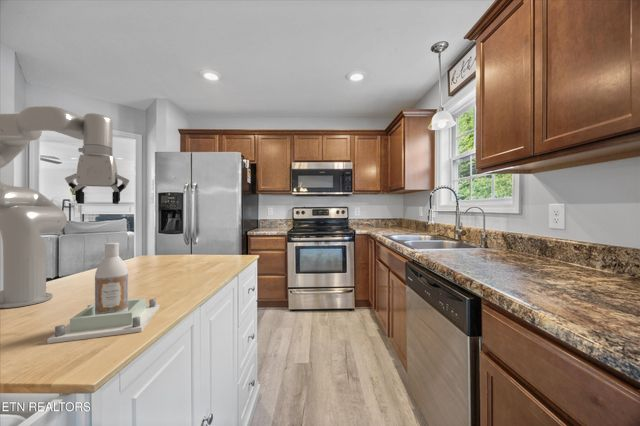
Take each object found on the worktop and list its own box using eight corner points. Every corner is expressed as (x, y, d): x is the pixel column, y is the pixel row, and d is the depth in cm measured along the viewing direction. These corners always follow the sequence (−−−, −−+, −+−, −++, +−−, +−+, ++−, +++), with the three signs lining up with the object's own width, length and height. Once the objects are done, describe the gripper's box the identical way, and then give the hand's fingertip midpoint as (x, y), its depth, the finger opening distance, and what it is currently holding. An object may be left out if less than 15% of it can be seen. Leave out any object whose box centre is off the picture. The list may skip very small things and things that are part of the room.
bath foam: (93, 326, 66) (92, 245, 66) (97, 317, 72) (96, 242, 72) (127, 320, 70) (127, 243, 70) (128, 312, 76) (128, 241, 76)
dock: (47, 343, 60) (47, 325, 60) (87, 314, 77) (87, 300, 77) (141, 331, 65) (141, 315, 65) (159, 307, 82) (159, 294, 82)
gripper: (59, 148, 84) (59, 203, 84) (124, 152, 89) (124, 203, 89) (72, 153, 91) (72, 203, 91) (132, 156, 96) (132, 204, 96)
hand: (98, 203), depth 90 cm, fingers open, 9 cm apart
